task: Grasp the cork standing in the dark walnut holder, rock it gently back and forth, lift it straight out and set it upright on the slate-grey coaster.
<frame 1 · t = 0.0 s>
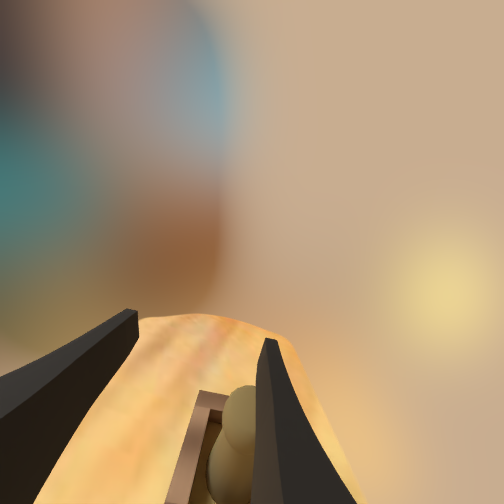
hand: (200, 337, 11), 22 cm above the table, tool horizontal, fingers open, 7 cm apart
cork: (232, 469, 22), resting in walnut holder
walnut holder: (233, 468, 22), on the table
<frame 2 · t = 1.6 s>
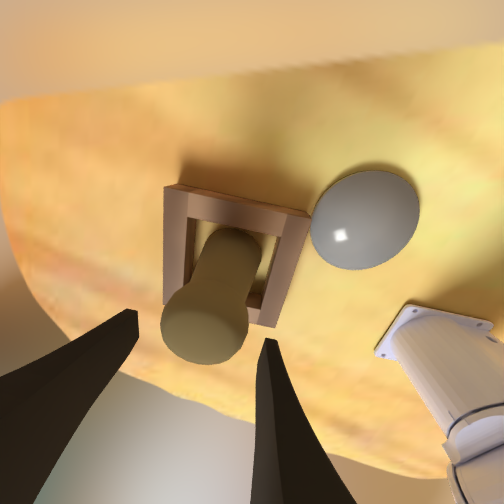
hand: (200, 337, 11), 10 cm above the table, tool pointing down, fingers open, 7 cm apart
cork: (232, 255, 21), resting in walnut holder
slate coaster: (360, 223, 18), on the table
walnut holder: (231, 255, 21), on the table
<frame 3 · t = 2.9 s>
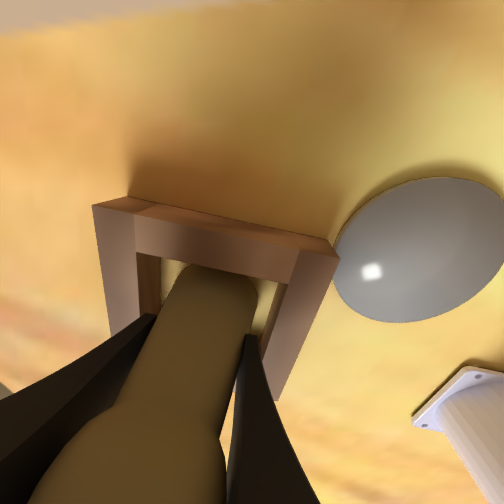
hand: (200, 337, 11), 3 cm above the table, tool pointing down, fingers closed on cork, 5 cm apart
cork: (215, 296, 14), resting in walnut holder, touching gripper
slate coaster: (409, 257, 12), on the table
walnut holder: (215, 298, 14), on the table
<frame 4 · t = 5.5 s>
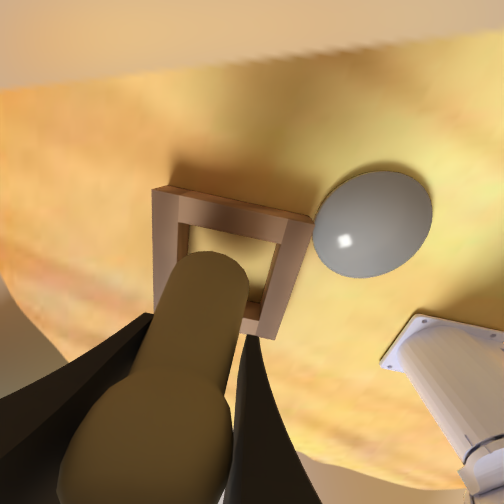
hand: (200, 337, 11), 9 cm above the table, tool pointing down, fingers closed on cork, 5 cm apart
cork: (210, 285, 15), point 4 cm above the table, touching gripper
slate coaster: (366, 228, 17), on the table
walnut holder: (228, 262, 19), on the table
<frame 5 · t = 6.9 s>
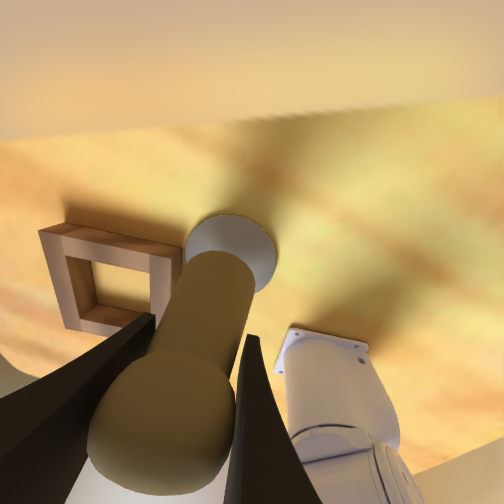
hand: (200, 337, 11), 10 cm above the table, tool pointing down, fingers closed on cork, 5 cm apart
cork: (219, 282, 16), point 4 cm above the table, touching gripper
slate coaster: (230, 258, 20), on the table
walnut holder: (127, 284, 22), on the table
when the fingers open (5 cm above the table, at t = 8.2 s): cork stays where it is, resting on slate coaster.
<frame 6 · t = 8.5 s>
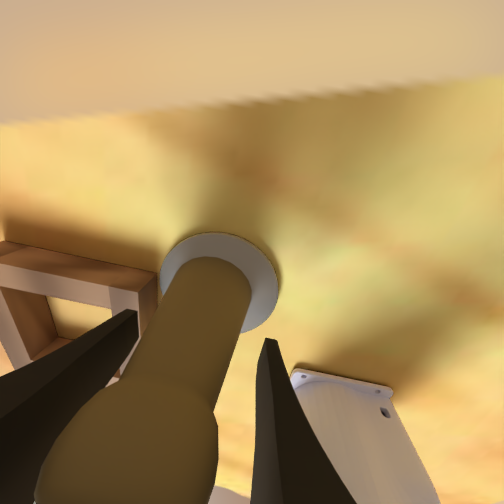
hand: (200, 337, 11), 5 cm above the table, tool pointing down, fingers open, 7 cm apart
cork: (212, 290, 15), resting on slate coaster
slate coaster: (219, 286, 16), on the table
walnut holder: (92, 315, 18), on the table
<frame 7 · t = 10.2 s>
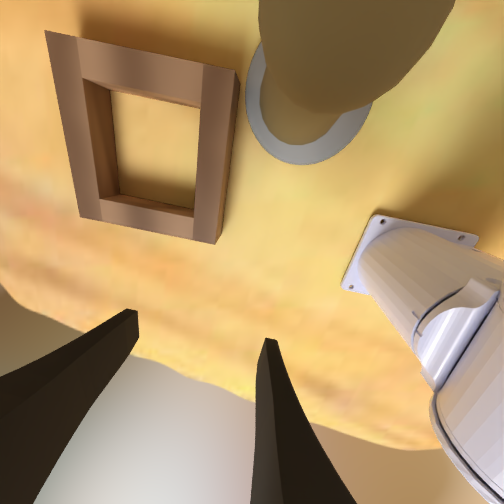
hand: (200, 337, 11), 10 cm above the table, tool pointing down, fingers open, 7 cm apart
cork: (301, 98, 14), resting on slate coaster
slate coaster: (307, 98, 15), on the table
walnut holder: (160, 156, 17), on the table
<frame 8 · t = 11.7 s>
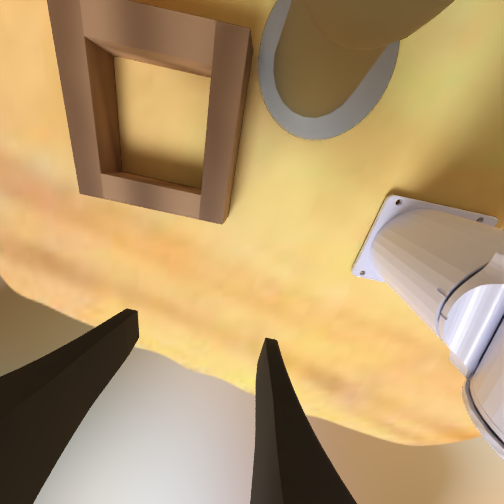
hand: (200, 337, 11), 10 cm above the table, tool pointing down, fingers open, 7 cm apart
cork: (317, 65, 13), resting on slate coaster
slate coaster: (323, 66, 14), on the table
walnut holder: (166, 130, 16), on the table
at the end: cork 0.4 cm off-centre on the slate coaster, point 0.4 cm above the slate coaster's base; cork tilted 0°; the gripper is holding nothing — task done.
